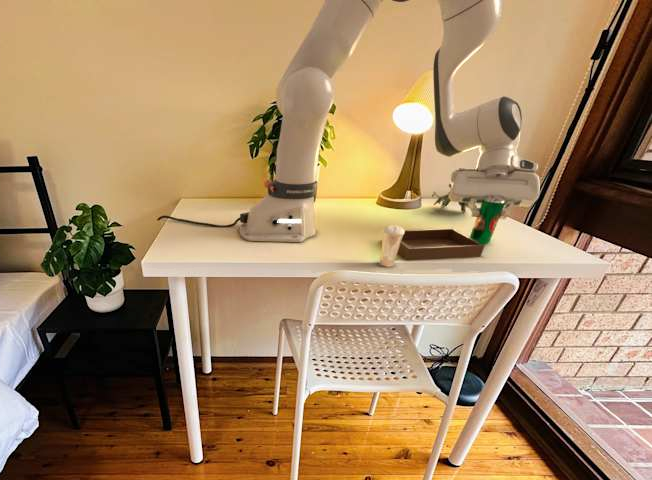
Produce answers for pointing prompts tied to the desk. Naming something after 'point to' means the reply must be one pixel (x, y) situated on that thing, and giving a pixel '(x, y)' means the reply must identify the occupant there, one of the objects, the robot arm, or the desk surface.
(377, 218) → the desk surface
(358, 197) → the desk surface
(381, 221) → the desk surface
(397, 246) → the milkshake
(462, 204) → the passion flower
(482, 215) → the soda can
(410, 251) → the tray
